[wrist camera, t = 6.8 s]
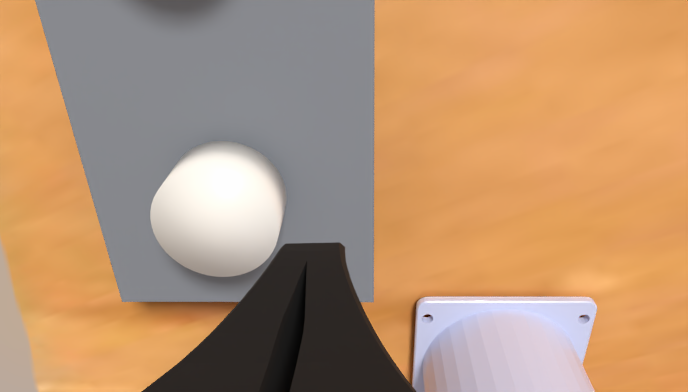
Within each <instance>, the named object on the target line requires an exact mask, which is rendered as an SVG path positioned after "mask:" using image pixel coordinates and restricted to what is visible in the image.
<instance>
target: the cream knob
mask: <svg viewBox="0 0 688 392" xmlns="http://www.w3.org/2000/svg"><path fill="white" fill-rule="evenodd" d="M286 201H287V194H286V188H285V185H284V181H283V179H282V177H281V175H280V173H279V172H278V170H277V169H276V167H275V166H274V165H273V164H272V162H271V161H269V160H268V159H267V158H266V157H265V156H264V155H262V154H261V153H260V152H258V151H256V150H254V149H253V148H250V147H248V146H246V145H243V144H239V143H236V142H230V141H213V142H208V143H204V144H201V145H198V146H196V147H194V148H192V149H191V150H189V151H188V152H187V153H185V154H184V155H183V156H182V157H181V159H180V160H179V161H178V163H177V164H176V165H175V167H174V168H173V170H172V171H171V172H170V174H169V175H168V177H167V178H166V179H165V181H164V182H163V184H162V185H161V187H160V188H159V189H158V191H157V192H156V194H155V196H154V198H153V201H152V204H151V210H150V220H151V226H152V229H153V232H154V235H155V237H156V239H157V241H158V242H159V244H160V245H161V247H162V248H163V249H164V250H165V252H166V253H167V254H168V255H169V256H170V257H171V258H173V259H174V260H175V261H176V262H178V263H179V264H181V265H183V266H184V267H186V268H188V269H190V270H192V271H195V272H198V273H201V274H204V275H209V276H215V277H231V276H237V275H241V274H245V273H247V272H250V271H252V270H254V269H256V268H257V267H259V266H260V265H261V264H263V263H264V262H265V261H266V260H267V259H268V258H269V256H270V255H271V254H272V252H273V250H274V248H275V246H276V243H277V240H278V236H279V232H280V228H281V224H282V220H283V216H284V212H285V208H286Z"/></svg>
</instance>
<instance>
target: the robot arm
mask: <svg viewBox="0 0 688 392" xmlns="http://www.w3.org/2000/svg"><path fill="white" fill-rule="evenodd" d="M596 312H597V306H596V304H595V302H594V301H593V299H591V298H590V297H423V298H421V299H419V301H418V302H417V304H416V320H415V339H414V358H413V377H412V385H411V384H410V383H409V382H408V381H407V379H406V378H405V377H404V375H403V374H402V373H401V371H400V370H399V368H398V367H397V366H396V364H395V363H394V361H393V360H392V358H391V357H390V355H389V354H388V352H387V351H386V349H385V348H384V346H383V344H382V343H381V341H380V339H379V338H378V336H377V334H376V332H375V331H374V329H373V327H372V325H371V323H370V321H369V319H368V317H367V316H366V314H365V312H364V309H363V307H362V305H361V303H360V301H359V298H358V296H357V293H356V291H355V289H354V286H353V283H352V281H351V278H350V275H349V271H348V268H347V264H346V256H345V246H343V245H342V244H341V243H340V242H335V243H288V244H284V245H283V246H282V247H281V248H280V250H279V251H278V253H277V254H276V255H275V257H274V258H273V260H272V261H271V263H270V264H269V265H268V267H267V268H266V269H265V271H264V272H263V273H262V275H261V276H260V277H259V279H258V280H257V281H256V282H255V284H254V285H253V286H252V287H251V289H250V290H249V291H248V292H247V294H246V295H245V296H244V297H243V299H242V300H241V301H240V302H239V303H238V304H237V306H236V307H235V308H234V309H233V310H232V311H231V312H230V313H229V314H228V315H227V317H226V318H225V319H224V320H223V321H222V322H221V323H220V324H219V325H218V326H217V327H216V328H215V329H214V331H213V332H212V333H211V334H210V335H209V336H208V337H206V338H205V339H204V340H203V341H202V342H201V343H200V344H199V345H198V346H197V347H196V348H195V349H194V350H193V351H192V352H190V353H189V354H188V355H187V356H186V357H185V358H184V359H183V360H182V361H180V362H179V363H178V364H177V365H175V366H174V367H173V368H172V369H170V370H169V371H168V372H166V373H165V374H164V375H163V376H161V377H160V378H159V379H157V380H156V381H155V382H154V383H152V384H151V385H150V386H148V387H147V388H146V389H145V390H143V391H142V392H595V391H594V389H593V386H592V384H591V382H590V380H589V378H588V376H587V374H586V372H585V369H584V367H583V365H582V364H583V361H584V357H585V353H586V349H587V346H588V342H589V338H590V334H591V330H592V327H593V323H594V319H595V315H596ZM426 314H429V315H431V316H430V317H423V316H424V315H426ZM581 315H585V316H584V317H581V318H579V317H580V316H581Z"/></svg>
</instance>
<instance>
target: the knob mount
mask: <svg viewBox="0 0 688 392" xmlns="http://www.w3.org/2000/svg"><path fill="white" fill-rule="evenodd" d="M35 2H36V5H37V9H38V12H39V16H40V19H41V22H42V26H43V29H44V33H45V36H46V40H47V43H48V47H49V50H50V54H51V57H52V60H53V64H54V67H55V71H56V74H57V78H58V81H59V85H60V88H61V92H62V95H63V99H64V102H65V105H66V109H67V112H68V116H69V119H70V123H71V126H72V130H73V133H74V137H75V140H76V143H77V147H78V150H79V154H80V157H81V161H82V164H83V168H84V171H85V175H86V178H87V181H88V185H89V188H90V192H91V195H92V199H93V202H94V206H95V209H96V213H97V216H98V220H99V223H100V226H101V230H102V233H103V237H104V240H105V244H106V247H107V251H108V254H109V258H110V261H111V264H112V268H113V271H114V275H115V278H116V282H117V285H118V289H119V292H120V296H121V299H122V302H240V301H241V300H242V299H243V297H244V296H245V295H246V294H247V292H248V291H249V290H250V289H251V287H252V286H253V285H254V284H255V282H256V281H257V280H258V279H259V277H260V276H261V275H262V273H263V272H264V271H265V269H266V268H267V267H268V265H269V264H270V263H271V261H272V260H273V258H274V257H275V255H276V254H277V253H278V251H279V250H280V248H281V247H282V246H283V245H284V244H288V243H335V242H340V243H341V244H342V245H343V246H345V256H346V264H347V268H348V271H349V275H350V278H351V281H352V283H353V286H354V289H355V291H356V293H357V296H358V298H359V301H360V302H374V0H35ZM213 141H230V142H236V143H239V144H243V145H246V146H248V147H250V148H253V149H254V150H256V151H258V152H260V153H261V154H262V155H264V156H265V157H266V158H267V159H268V160H269V161H271V162H272V164H273V165H274V166H275V167H276V169H277V170H278V172H279V173H280V175H281V177H282V179H283V181H284V185H285V188H286V194H287V201H286V208H285V212H284V216H283V220H282V224H281V228H280V232H279V236H278V240H277V243H276V246H275V248H274V250H273V252H272V254H271V255H270V256H269V258H268V259H267V260H266V261H265V262H264V263H263V264H261V265H260V266H259V267H257V268H256V269H254V270H252V271H250V272H247V273H245V274H241V275H237V276H231V277H215V276H209V275H204V274H201V273H198V272H195V271H192V270H190V269H188V268H186V267H184V266H183V265H181V264H179V263H178V262H176V261H175V260H174V259H173V258H171V257H170V256H169V255H168V254H167V253H166V252H165V250H164V249H163V248H162V247H161V245H160V244H159V242H158V241H157V239H156V237H155V235H154V232H153V229H152V226H151V220H150V210H151V204H152V201H153V198H154V196H155V194H156V192H157V191H158V189H159V188H160V187H161V185H162V184H163V182H164V181H165V179H166V178H167V177H168V175H169V174H170V172H171V171H172V170H173V168H174V167H175V165H176V164H177V163H178V161H179V160H180V159H181V157H182V156H183V155H184V154H185V153H187V152H188V151H189V150H191V149H192V148H194V147H196V146H198V145H201V144H204V143H208V142H213Z"/></svg>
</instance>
